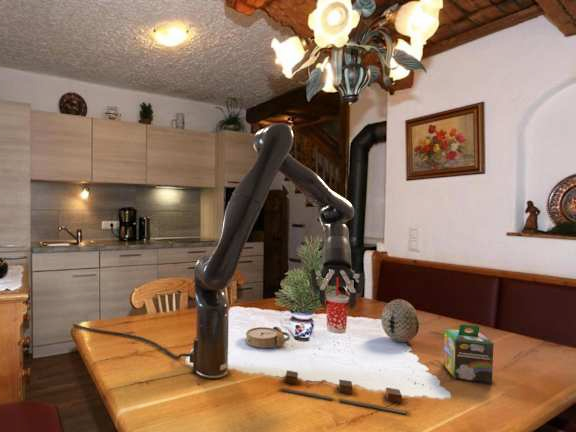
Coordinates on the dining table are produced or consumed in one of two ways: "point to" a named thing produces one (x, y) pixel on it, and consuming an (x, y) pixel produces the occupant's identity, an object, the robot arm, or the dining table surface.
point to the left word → (293, 378)
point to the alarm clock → (266, 337)
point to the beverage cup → (336, 311)
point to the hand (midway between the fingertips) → (337, 306)
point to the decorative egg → (400, 320)
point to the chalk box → (468, 354)
